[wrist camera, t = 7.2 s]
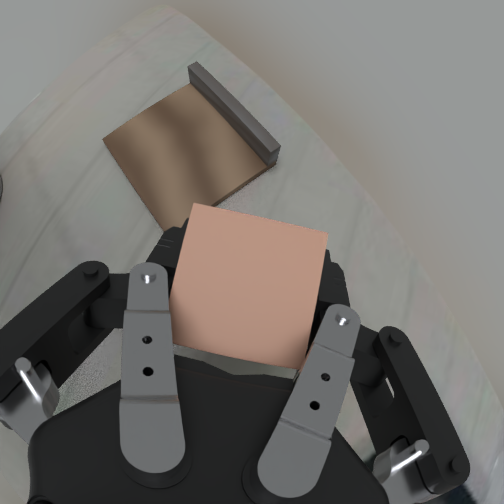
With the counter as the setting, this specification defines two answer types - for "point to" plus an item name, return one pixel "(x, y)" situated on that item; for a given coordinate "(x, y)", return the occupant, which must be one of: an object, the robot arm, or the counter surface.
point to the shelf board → (191, 149)
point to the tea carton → (246, 286)
